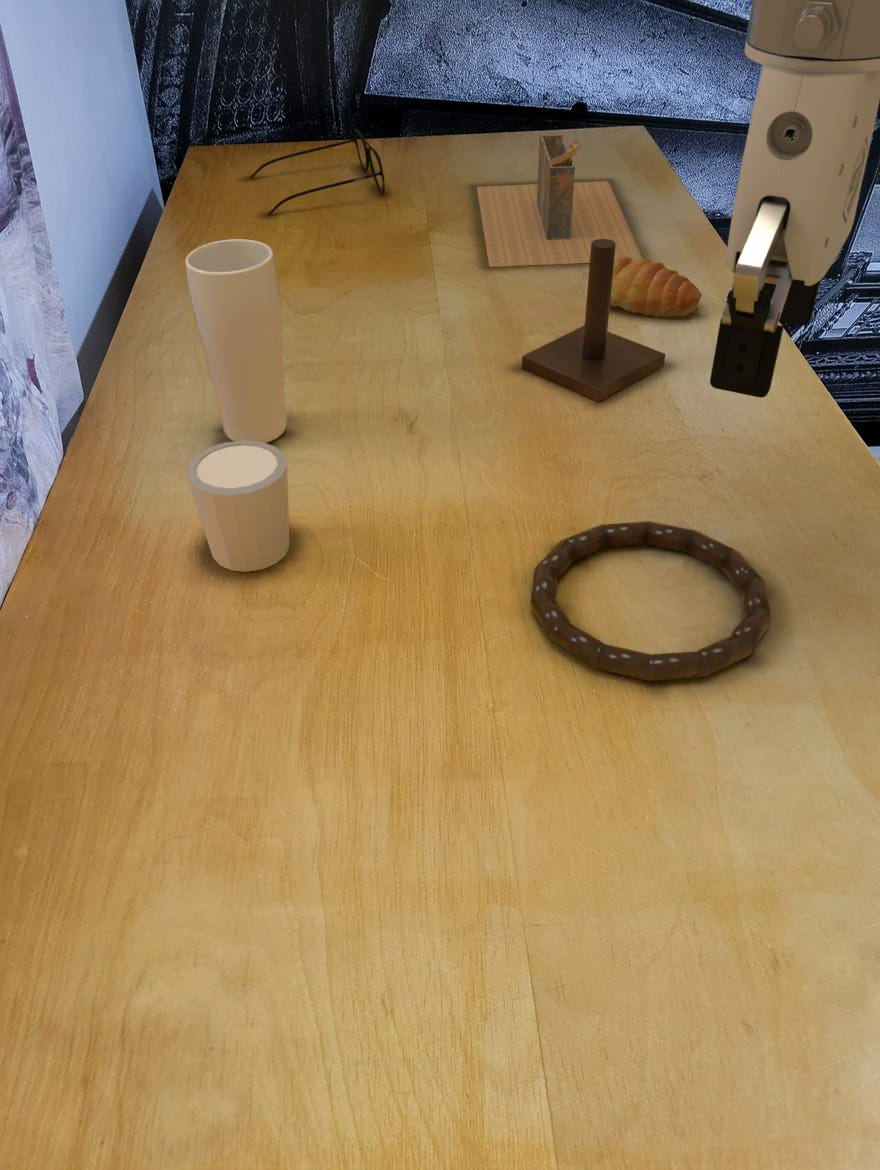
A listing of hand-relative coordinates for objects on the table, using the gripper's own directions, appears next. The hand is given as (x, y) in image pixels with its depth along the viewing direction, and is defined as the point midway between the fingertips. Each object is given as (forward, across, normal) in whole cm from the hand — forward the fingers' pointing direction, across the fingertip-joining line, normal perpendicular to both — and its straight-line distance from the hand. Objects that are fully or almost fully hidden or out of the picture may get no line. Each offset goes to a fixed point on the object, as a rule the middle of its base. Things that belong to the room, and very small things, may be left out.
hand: (761, 353), depth 61 cm
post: (+16, +24, +18) cm, 34 cm away
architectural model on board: (+16, +55, +35) cm, 67 cm away
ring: (+15, -6, +3) cm, 16 cm away
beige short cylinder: (+16, -12, +30) cm, 37 cm away
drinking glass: (+16, +1, +40) cm, 43 cm away
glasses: (+16, +54, +67) cm, 88 cm away
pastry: (+16, +38, +18) cm, 46 cm away
